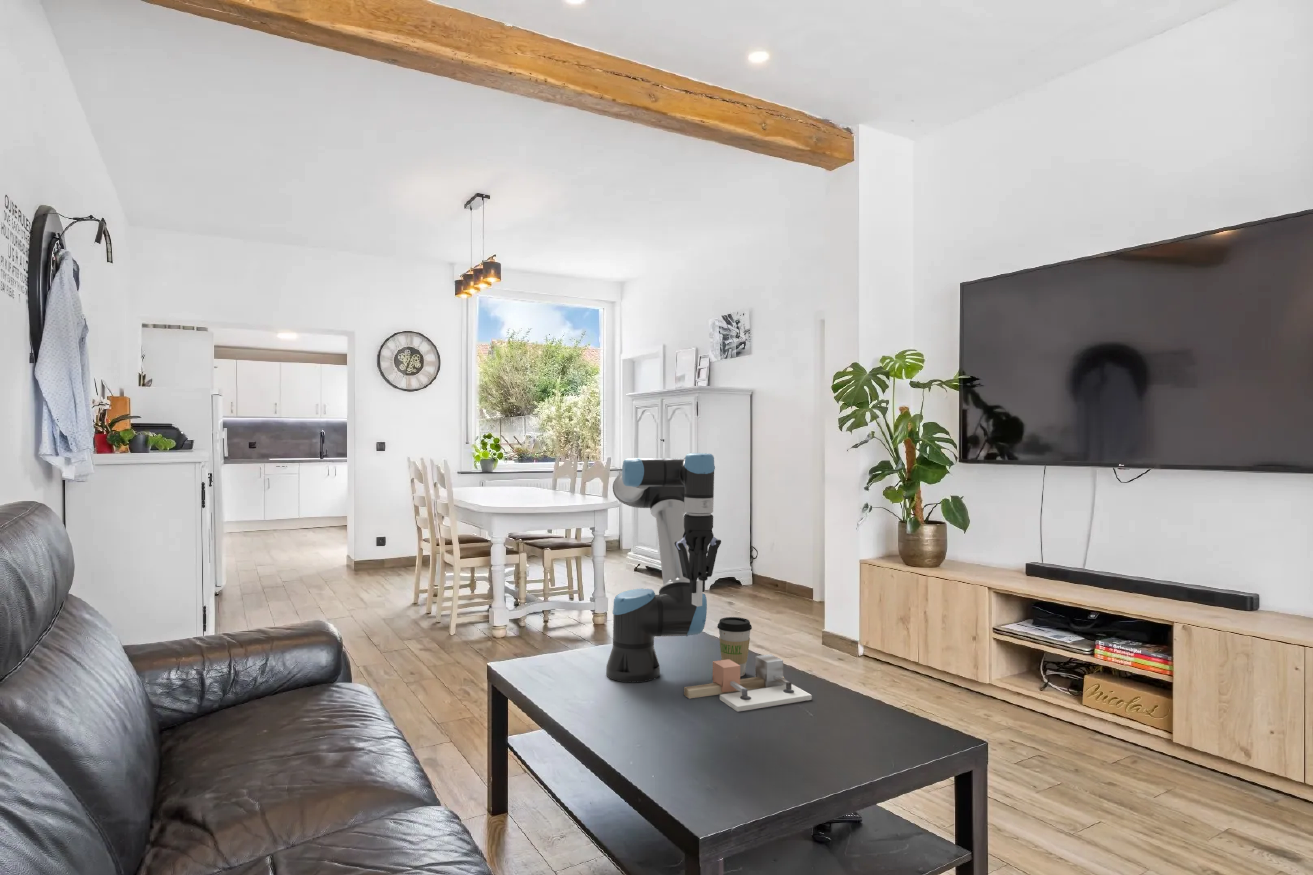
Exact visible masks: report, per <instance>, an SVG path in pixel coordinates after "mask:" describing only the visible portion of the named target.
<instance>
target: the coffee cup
mask: <svg viewBox="0 0 1313 875" xmlns="http://www.w3.org/2000/svg"><path fill="white" fill-rule="evenodd" d="M716 628H717V629H718V631H719V636H718V638H719V640H718V641H719V648H720V657H721V659H720V660H727V659H730V660H731V661H733V662H735V663H737V664H738V665H740V677H743V676H745V674H746V668H747V662H748V657H749V650H750V649H749V648H750V642H751V641H750V640H751V638H750V634H751V630H752V629H753V627H752V624H751V621H750V620H749V619H748V618H745V617H739V616H729V617H723V618H722V617H721V618H720V619H719V622H718V624H717V626H716Z"/></svg>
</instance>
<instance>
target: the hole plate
mask: <svg viewBox="0 0 1313 875" xmlns="http://www.w3.org/2000/svg"><path fill="white" fill-rule="evenodd" d="M812 697H813V695H812V694H810V693H809V692H807V691H805V690H803V689H802V688H800V687H798V686H796V685H795V684H792V686H791V690H788V689H786V686H785V685H782V686H776V687H769V688H765V687H764V688H757V689H751V690H747V696H742V692H740V691H737V692H731V693H724V694H719V700H720V701H721V702H723V703H724V704H725V705H726V706H728V707H730V708H731V709H733V710H734V711H736V712H743V711H750V710H756V709H761V708H763V709H764V708H769V707H775V706H780V705H787V704H793V703H800V702H804V701H812Z"/></svg>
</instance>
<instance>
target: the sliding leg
mask: <svg viewBox="0 0 1313 875" xmlns="http://www.w3.org/2000/svg"><path fill="white" fill-rule="evenodd" d="M740 679H741V676H740V665H738V664H737V663H735V662H733V661H731V660H730V659H727V660H721V659H720V660H714V661H712V683H718V684H720V685H721V692H729V691H736V690H738V691H737V692H742V696H747V691H748V690H747V689H746V688H744V687H742V686H741V685H740Z"/></svg>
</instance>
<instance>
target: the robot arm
mask: <svg viewBox="0 0 1313 875" xmlns="http://www.w3.org/2000/svg"><path fill="white" fill-rule="evenodd" d="M621 469H622V470H621V473H619V474H618V475H617V476H616V477H615V479H614V480H613V483H612V492H613V495H614V497H615V498H616V499H617V500H618V501H619V502H621V503H622V504H624V505H626V506H628V507H632V508H636V509H650V514H651V515H652V517H654V518H655V519H656V527H657V528H656V529H657V537H658V546H659V556H660V566H661V568H660V569H661V575H662V586H661V587H660V588H659V591H658V594H656V593H655V590H653V589H652V588H635V589H634V588H633V589H629V590H625V591H621V592H620V593H619V594H617V595H616V596H615V597H614V599H613V605H612V606H613V607H612V614H613V616H612V617H613V619H612V620H613V622H612V623H613V624H612V649H611V651H610V654H609V657H608V659H607V662H606V669H605V670H606V676H607V677H608V678H609V679H611V680H613V681H618V682H624V683H642V682H643V683H644V682H648V681H649V682H650V681H653V680H655V679H657V678H659V676H660V674H661V672H660V671H661V666H660V665H661V664H660V662H659V659H658V656H657V652H656V649H655V637H657V638H658V637H659V638H660V637H683V636H684V637H689V636H698V635H700V634H702V633H703V631H704V630H705V625H706V620H707V615H708V614H707V610H708V601H707V596H706V593H705V591H706V582H707V581H708V578H711V577H712V576H713V572H714V569H715V563H716V558H717V554H718V550H719V547H720V546H721V543H722V540H721V539H718V538H716V537H715V536H714V533H713V528H714V515H713V513H714V496H715V495H714V494H715V493H714V492H715V491H714V490H715V470H716V467H715V457H714V455H713V454H712V453H707V452H704V453H703V452H692V453H691V452H690V453H687V454H686V455H685V457H684V458H683V457H682V458H676V457H675V458H671V457H669V458H653V457H652V458H650V457H649V458H647V457H645V458H643V457H632V458H631V457H630V458H625V459H624V460H623V462H622V467H621Z"/></svg>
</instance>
